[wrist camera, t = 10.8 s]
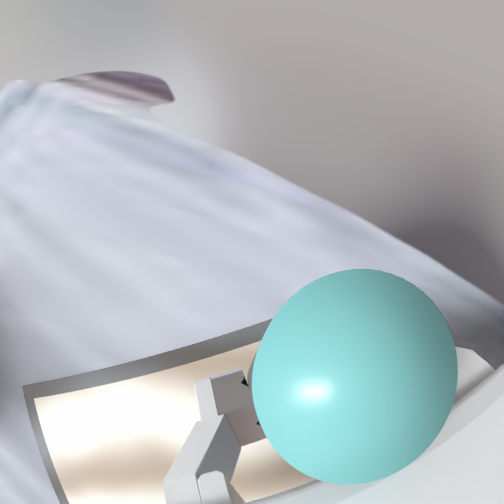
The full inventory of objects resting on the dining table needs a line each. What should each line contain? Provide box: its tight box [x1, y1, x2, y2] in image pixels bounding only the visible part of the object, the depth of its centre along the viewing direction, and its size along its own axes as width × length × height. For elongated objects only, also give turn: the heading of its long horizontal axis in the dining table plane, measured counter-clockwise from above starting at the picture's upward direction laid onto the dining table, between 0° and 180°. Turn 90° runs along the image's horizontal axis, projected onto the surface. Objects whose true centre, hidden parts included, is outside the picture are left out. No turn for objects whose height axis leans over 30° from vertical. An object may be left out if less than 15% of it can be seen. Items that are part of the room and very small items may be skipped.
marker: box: [247, 269, 458, 485], centre depth 10 cm, size 3×3×13 cm
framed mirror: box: [22, 319, 316, 504], centre depth 14 cm, size 15×19×1 cm
